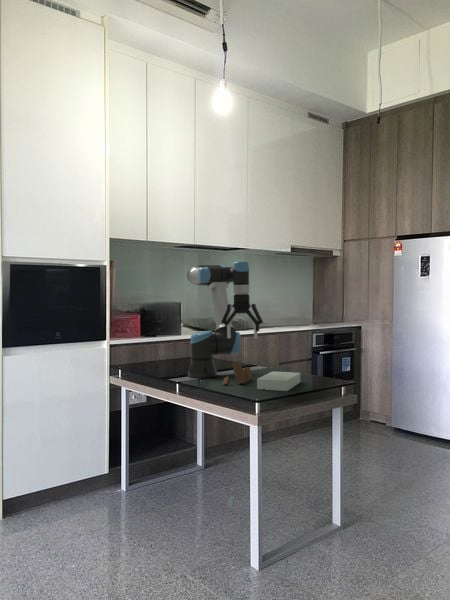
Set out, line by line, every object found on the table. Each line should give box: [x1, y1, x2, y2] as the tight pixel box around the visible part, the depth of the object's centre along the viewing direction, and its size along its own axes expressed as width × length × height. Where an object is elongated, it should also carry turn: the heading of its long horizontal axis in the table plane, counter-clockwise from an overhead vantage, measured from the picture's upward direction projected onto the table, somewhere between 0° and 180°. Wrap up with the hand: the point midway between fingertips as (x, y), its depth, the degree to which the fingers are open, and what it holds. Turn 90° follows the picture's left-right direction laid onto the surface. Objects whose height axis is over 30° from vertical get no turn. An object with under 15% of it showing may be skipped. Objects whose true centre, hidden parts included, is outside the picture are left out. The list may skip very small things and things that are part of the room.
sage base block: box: [256, 371, 301, 392], centre depth 232 cm, size 14×22×5 cm, turn 156°
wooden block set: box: [222, 361, 254, 386], centre depth 240 cm, size 18×9×10 cm, turn 138°
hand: (242, 338), depth 238 cm, fingers open, 13 cm apart
